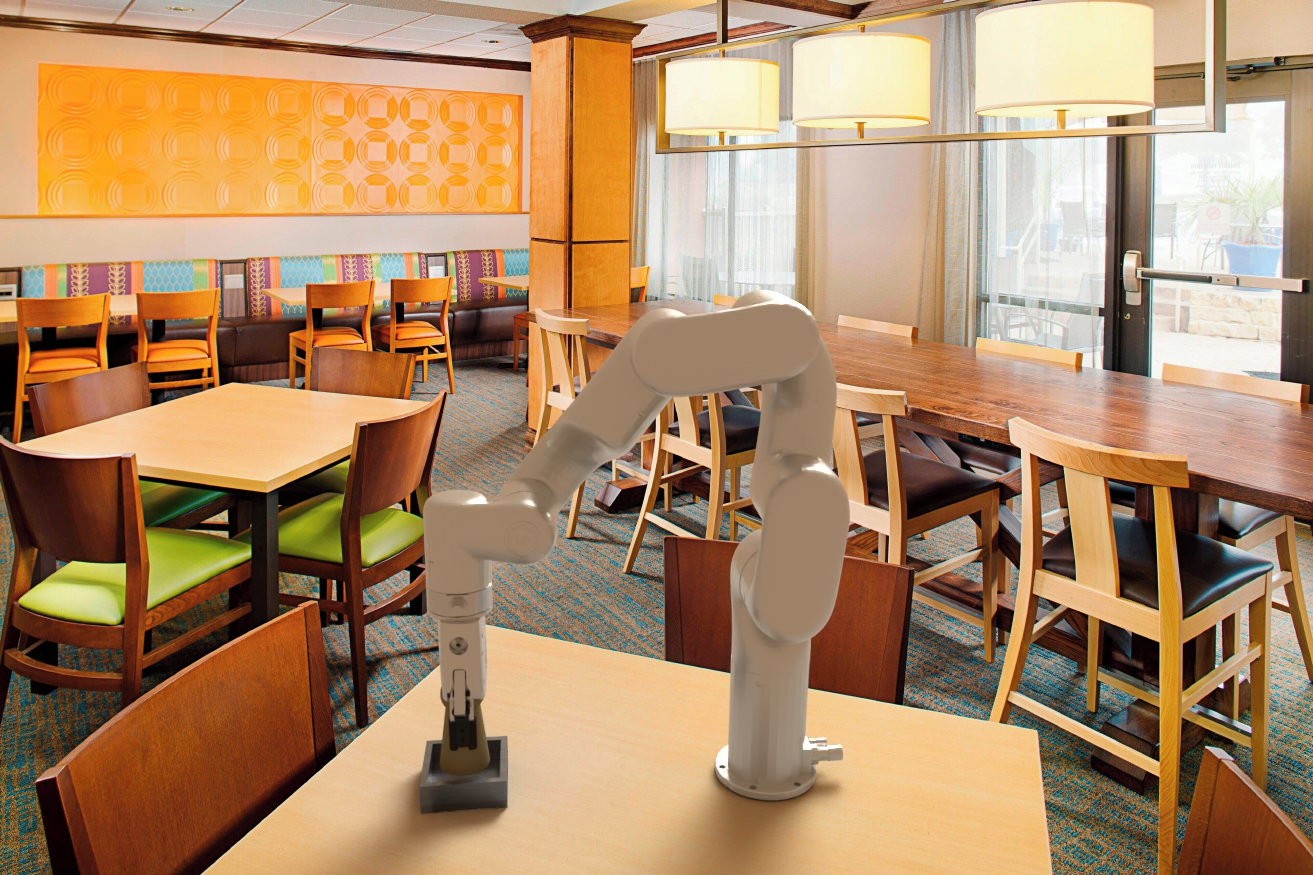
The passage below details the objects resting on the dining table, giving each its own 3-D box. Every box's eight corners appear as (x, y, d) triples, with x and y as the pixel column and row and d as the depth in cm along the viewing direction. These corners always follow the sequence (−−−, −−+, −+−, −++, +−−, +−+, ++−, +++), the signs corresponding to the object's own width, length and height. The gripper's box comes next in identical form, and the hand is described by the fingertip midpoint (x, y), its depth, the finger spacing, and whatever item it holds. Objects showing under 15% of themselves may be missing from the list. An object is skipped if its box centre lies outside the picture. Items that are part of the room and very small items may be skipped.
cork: (493, 747, 122) (491, 666, 120) (486, 775, 116) (484, 691, 114) (444, 748, 122) (441, 666, 120) (435, 775, 116) (431, 691, 114)
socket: (507, 760, 126) (507, 735, 125) (507, 807, 116) (506, 780, 115) (427, 765, 124) (426, 740, 123) (420, 813, 115) (419, 786, 114)
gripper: (490, 625, 107) (494, 776, 111) (494, 569, 123) (497, 703, 127) (420, 628, 106) (426, 780, 110) (432, 571, 122) (437, 706, 126)
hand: (464, 737), depth 119 cm, fingers closed on cork, 3 cm apart
